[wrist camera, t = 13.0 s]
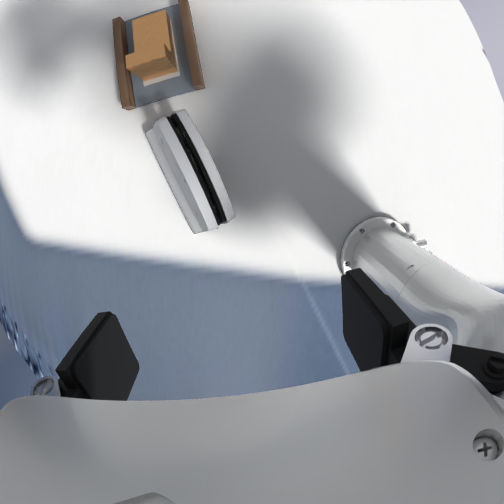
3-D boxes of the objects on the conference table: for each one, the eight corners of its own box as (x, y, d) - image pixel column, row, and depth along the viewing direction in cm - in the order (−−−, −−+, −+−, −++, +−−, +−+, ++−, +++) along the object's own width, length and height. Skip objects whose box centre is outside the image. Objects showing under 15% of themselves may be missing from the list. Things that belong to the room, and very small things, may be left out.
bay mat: (180, 4, 28) (179, 3, 28) (195, 90, 34) (195, 89, 33) (126, 22, 29) (125, 21, 28) (136, 107, 34) (135, 107, 34)
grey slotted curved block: (144, 133, 35) (143, 112, 26) (174, 119, 36) (182, 95, 27) (194, 235, 41) (208, 246, 31) (222, 220, 42) (244, 226, 32)
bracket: (177, 71, 32) (165, 56, 26) (144, 81, 32) (126, 68, 26) (170, 18, 29) (158, -3, 22) (138, 27, 29) (122, 9, 22)
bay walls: (188, 2, 28) (185, -5, 26) (204, 88, 34) (202, 83, 31) (118, 25, 29) (112, 19, 26) (128, 110, 34) (122, 108, 32)
